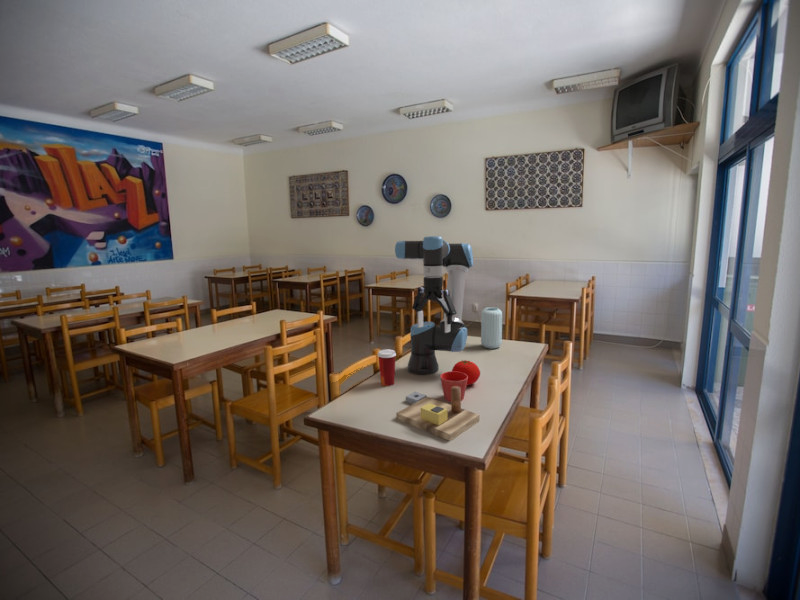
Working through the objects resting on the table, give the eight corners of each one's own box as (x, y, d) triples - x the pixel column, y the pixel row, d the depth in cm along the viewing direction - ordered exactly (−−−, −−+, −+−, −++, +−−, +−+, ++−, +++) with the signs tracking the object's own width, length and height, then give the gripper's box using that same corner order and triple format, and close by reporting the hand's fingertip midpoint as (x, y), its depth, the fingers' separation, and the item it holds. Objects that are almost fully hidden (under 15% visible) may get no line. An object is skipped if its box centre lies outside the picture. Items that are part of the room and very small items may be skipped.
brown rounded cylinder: (449, 417, 149) (449, 388, 146) (454, 413, 151) (454, 385, 149) (457, 419, 146) (457, 390, 144) (462, 416, 149) (462, 387, 147)
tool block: (405, 401, 163) (405, 396, 162) (415, 397, 167) (415, 391, 166) (417, 406, 159) (417, 400, 158) (426, 401, 163) (426, 395, 162)
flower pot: (461, 406, 157) (461, 382, 156) (436, 400, 163) (435, 377, 161) (471, 396, 166) (471, 374, 164) (447, 391, 172) (447, 369, 170)
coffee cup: (399, 381, 184) (399, 350, 181) (391, 388, 176) (390, 355, 174) (383, 379, 187) (382, 348, 184) (375, 385, 180) (373, 353, 177)
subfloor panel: (396, 419, 149) (396, 412, 148) (427, 402, 162) (427, 396, 161) (450, 441, 133) (450, 434, 132) (479, 420, 146) (479, 414, 145)
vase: (481, 349, 227) (481, 310, 223) (480, 343, 238) (481, 306, 234) (502, 349, 225) (503, 310, 221) (500, 343, 237) (501, 306, 233)
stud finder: (420, 418, 143) (420, 407, 143) (429, 413, 147) (429, 402, 146) (438, 425, 138) (438, 413, 137) (447, 420, 142) (447, 408, 141)
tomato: (459, 376, 188) (459, 355, 186) (483, 382, 181) (484, 359, 179) (447, 385, 179) (447, 362, 177) (472, 390, 172) (473, 367, 170)
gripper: (402, 275, 163) (404, 326, 167) (454, 279, 146) (454, 336, 150) (415, 273, 168) (415, 323, 172) (465, 277, 152) (465, 332, 156)
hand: (433, 329), depth 161 cm, fingers open, 13 cm apart
